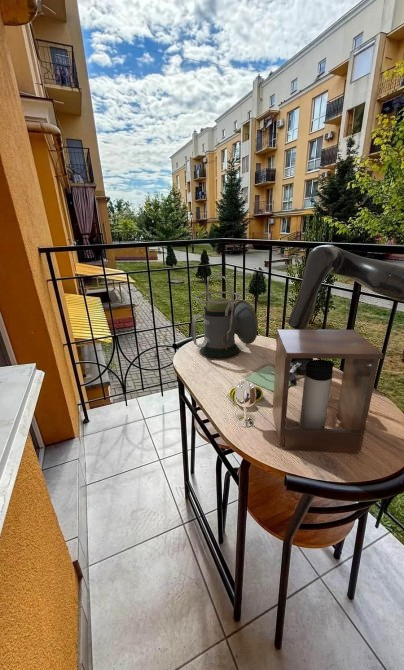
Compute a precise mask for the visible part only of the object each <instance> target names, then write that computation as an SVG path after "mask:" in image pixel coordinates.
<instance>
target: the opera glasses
mask: <svg viewBox="0 0 404 670" xmlns="http://www.w3.org/2000/svg"><path fill="white" fill-rule="evenodd" d="M254 386H255V390H256V401H255V402H259V401H260V400H261V399H262V398H263V395H264V393H263V392H264V391H263V390H262V388H260V386H258V385H254ZM235 390H236V387H233V388H231V389H230V390H229V394H228V395H229V398H230V399H231V400H232V401H234V403H235V405H238V404H237V402H236V400H235ZM238 406H239V405H238Z"/></svg>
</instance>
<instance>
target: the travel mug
mask: <svg viewBox="0 0 404 670" xmlns="http://www.w3.org/2000/svg"><path fill="white" fill-rule="evenodd" d="M334 367H335V363H334V362H333V360H326V359H322V358H316V359H313V360H311V361H309V362H307V364H306V371H305V376H303V378H304V379H303V388H302V397H301V409H300V417H299V418H300V419H299V428H320V429H326V421H327V415H328V408H329V401H330V393H331V386H332V380H333V374H332V371H333V370H334ZM333 372H334V371H333ZM331 379H332V380H331Z"/></svg>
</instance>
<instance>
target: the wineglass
mask: <svg viewBox="0 0 404 670" xmlns="http://www.w3.org/2000/svg"><path fill="white" fill-rule="evenodd" d="M255 386H256V385H255V384H254V383H252V382H249V381H247V380H241V381H238V382H237V384H236V387H235V388H236V390H235V400H236V402H237V404H238V406H240V407H242V408H243V413H244V414H243V415H244V416H241V417H238V418H237V421H236V422H237V425H238V426H240V427H242V428H249V427H251V426H253V424H254V420H253V419H252V418H251V417H247V411H248V408H250V407H252V406H254V405H255V404H256V402H257V401H256V390H255ZM237 404H236V405H237Z"/></svg>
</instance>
